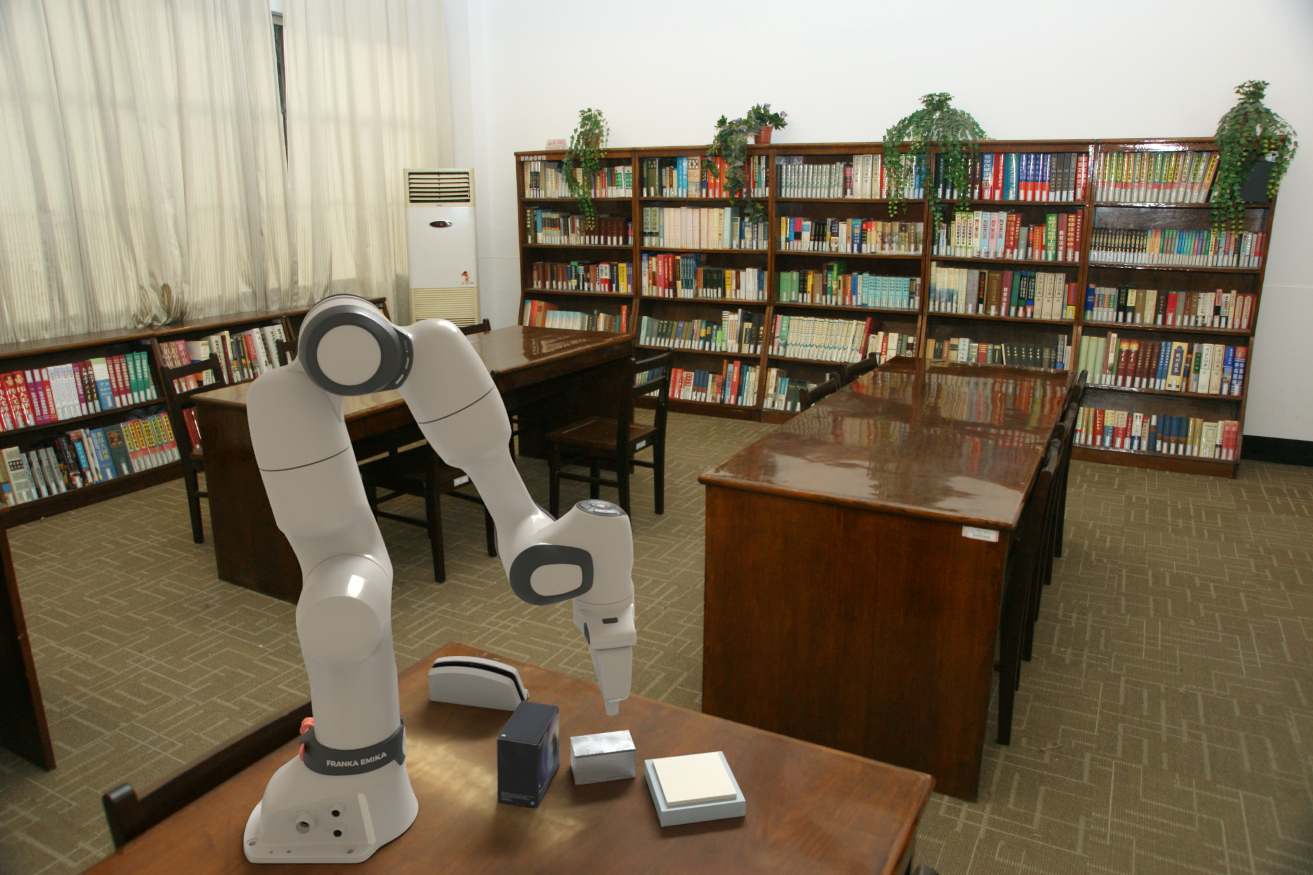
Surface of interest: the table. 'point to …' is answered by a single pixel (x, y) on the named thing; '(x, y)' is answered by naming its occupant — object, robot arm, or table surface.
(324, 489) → the robot arm
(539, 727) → the small box
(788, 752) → the table surface
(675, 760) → the stand
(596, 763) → the block
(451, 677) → the white slotted block
